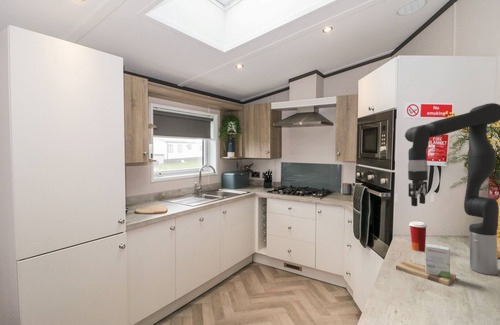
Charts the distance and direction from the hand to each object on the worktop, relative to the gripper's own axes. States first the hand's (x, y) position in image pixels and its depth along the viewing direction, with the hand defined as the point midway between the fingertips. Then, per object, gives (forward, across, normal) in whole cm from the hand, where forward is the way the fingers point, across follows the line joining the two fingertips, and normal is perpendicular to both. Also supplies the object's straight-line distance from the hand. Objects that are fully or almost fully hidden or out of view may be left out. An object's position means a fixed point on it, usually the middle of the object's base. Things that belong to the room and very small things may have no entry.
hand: (418, 204), depth 117 cm
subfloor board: (+30, +3, +3) cm, 30 cm away
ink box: (+29, +3, +8) cm, 30 cm away
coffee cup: (+30, -27, -11) cm, 42 cm away
